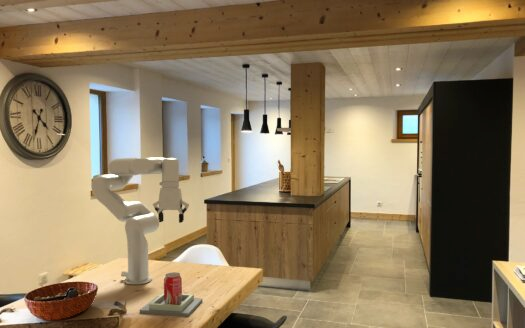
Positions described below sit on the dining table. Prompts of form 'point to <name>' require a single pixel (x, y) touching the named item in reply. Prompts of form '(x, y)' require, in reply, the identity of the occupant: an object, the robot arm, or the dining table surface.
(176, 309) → the holder board
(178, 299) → the soda can
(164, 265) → the dining table surface
